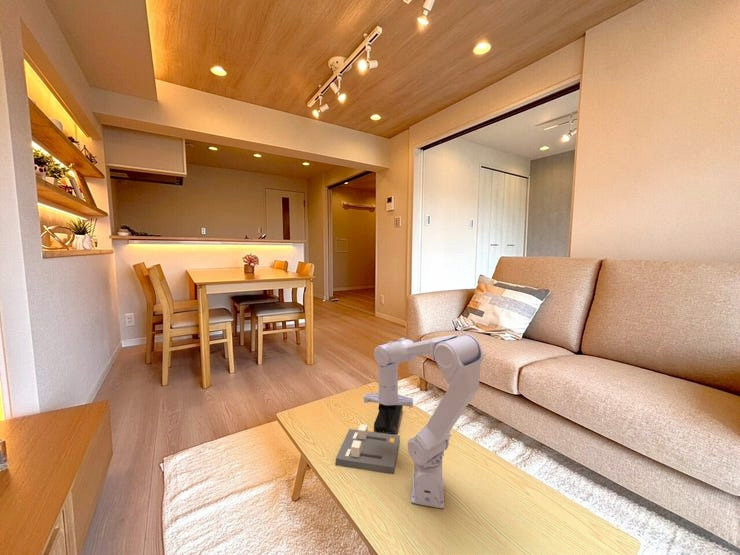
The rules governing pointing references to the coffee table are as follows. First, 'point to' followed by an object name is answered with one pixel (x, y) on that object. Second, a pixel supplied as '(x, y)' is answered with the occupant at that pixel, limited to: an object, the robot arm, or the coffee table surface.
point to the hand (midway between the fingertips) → (388, 426)
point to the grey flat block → (370, 452)
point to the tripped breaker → (362, 431)
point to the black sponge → (380, 424)
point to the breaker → (356, 448)
